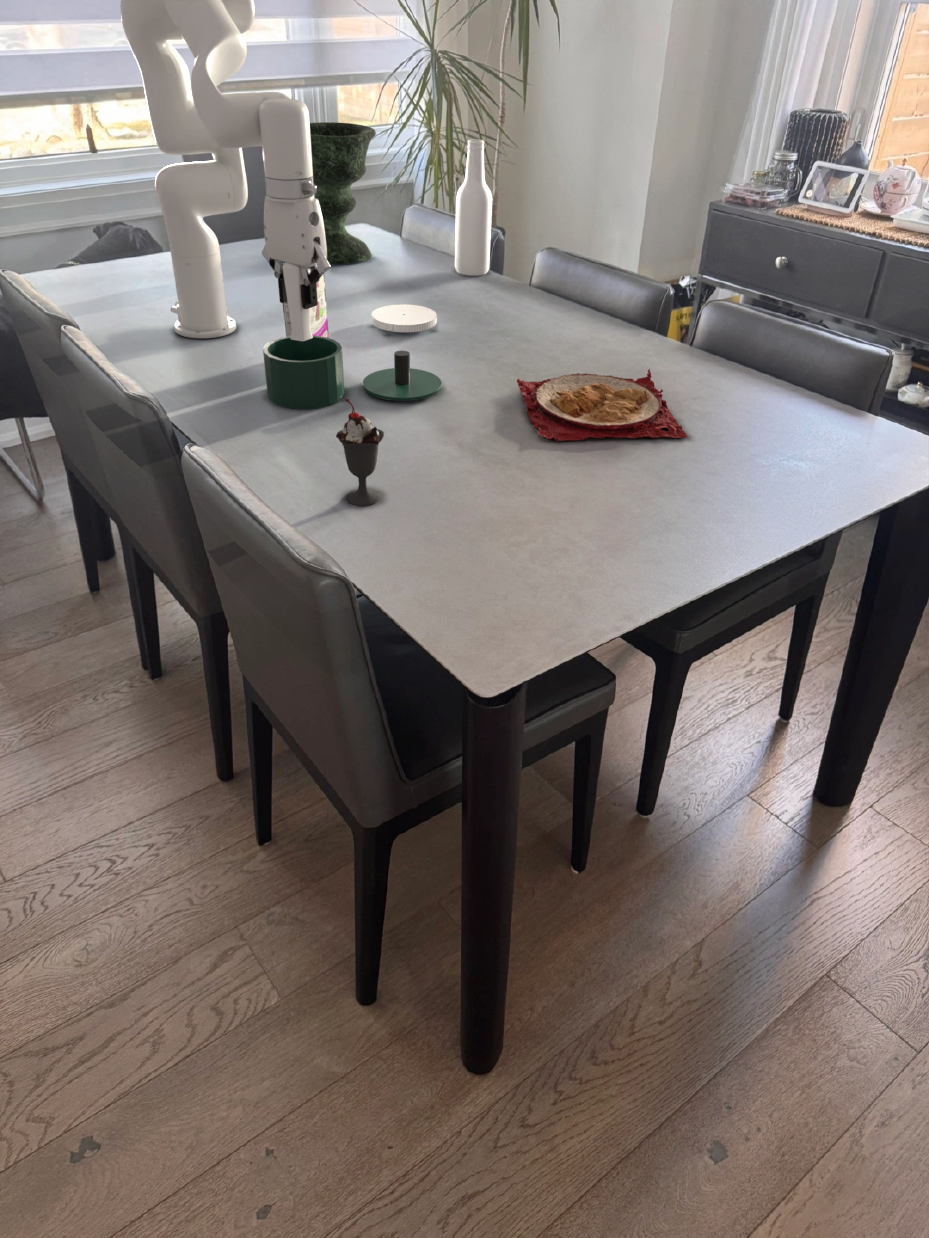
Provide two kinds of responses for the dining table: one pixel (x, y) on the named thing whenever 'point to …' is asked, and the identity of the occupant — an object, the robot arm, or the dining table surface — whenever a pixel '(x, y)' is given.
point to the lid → (402, 381)
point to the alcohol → (473, 216)
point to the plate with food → (598, 407)
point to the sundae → (360, 454)
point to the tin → (304, 372)
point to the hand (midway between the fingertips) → (298, 303)
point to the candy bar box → (313, 314)
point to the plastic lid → (404, 318)
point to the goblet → (339, 183)
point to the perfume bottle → (296, 303)
